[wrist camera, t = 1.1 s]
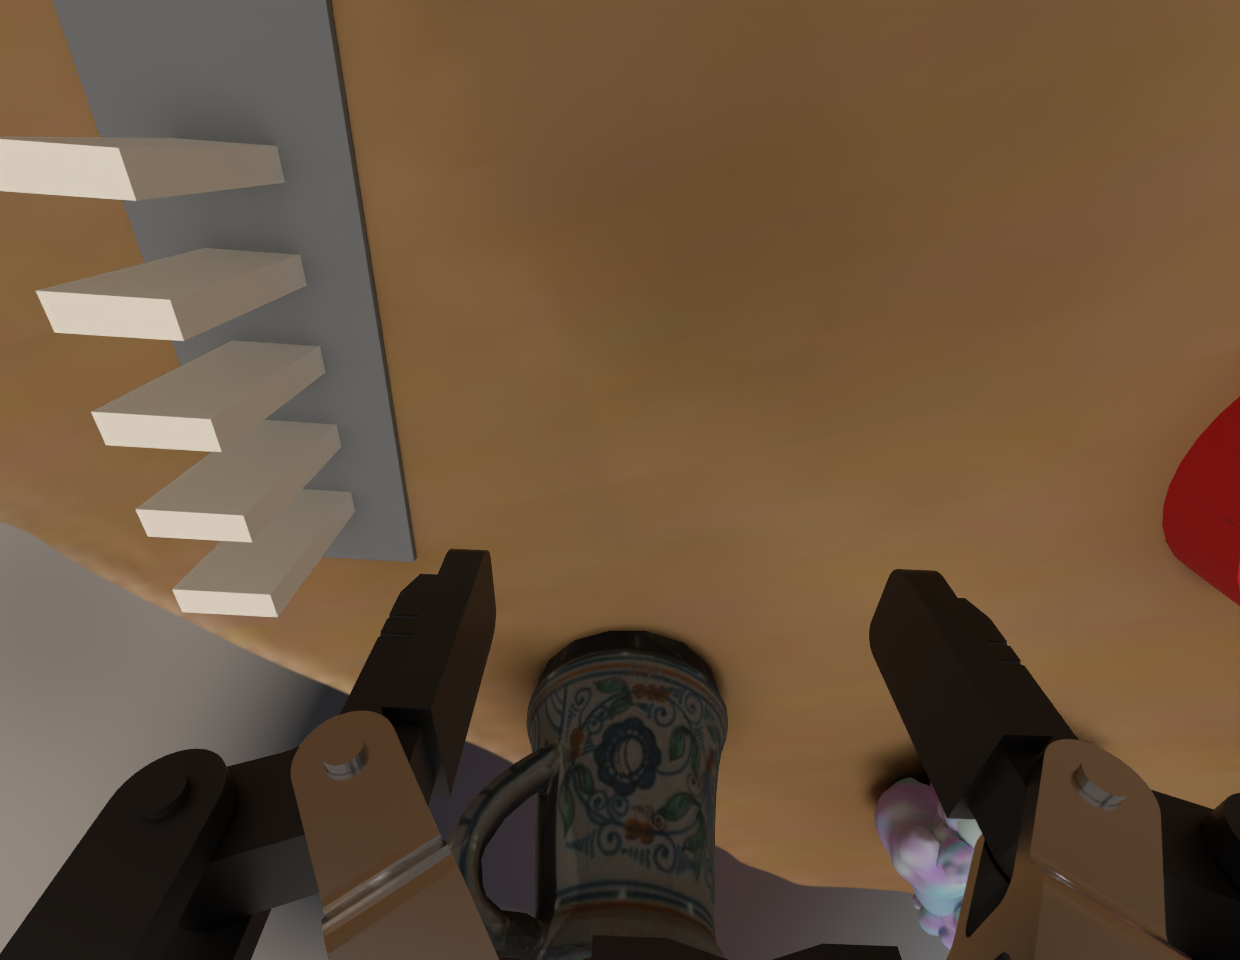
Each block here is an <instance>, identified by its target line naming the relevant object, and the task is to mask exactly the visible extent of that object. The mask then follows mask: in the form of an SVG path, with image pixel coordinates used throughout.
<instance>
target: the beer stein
mask: <svg viewBox="0 0 1240 960" xmlns="http://www.w3.org/2000/svg"><path fill="white" fill-rule="evenodd" d="M727 730H728V716H727V710H726V706H725V703H724V701H723V699H722V697H721V696H720V694H719V692H718V689H717V686H716V683H715V680H714V678H713V675H712V672H711V669H710V667H709V666H708V665H707V664H706V663H705V662H704V661H703V660H702V659H701V658H700V657H698V656H697V655H696V654H695V653H694V652H693V651H692V650H691V649H690V648H689V647H687V646H686V645H685V644H684V643H681V642H678V641H675V640H672V639H669V638H665V637H662V636H659V635H656V634H652V633H649V632H646V631H608V632H604V633H601V634H597V635H593V636H590V637H586V638H582V639H579V640H575V641H574V642H572V643H571V644H570V645H569V646H567V647H566V648H565V649H563V650H562V651H561V652H560V653H558V654H557V655H556V656H555V657H553V658H552V659H551V660H549V661H548V663H547V665H546V667H545V669H544V671H543V673H542V675H541V677H540V679H539V682H538V685H537V687H536V689H535V691H534V693H533V694H532V697H531V700H530V703H529V706H528V713H527V731H528V737H529V740H530V744H531V747H532V753H531V754H530V755H528V756H526V757H525V758H523V759H521V760H520V761H518V762H516V763H515V764H514V765H512V766H511V767H509V768H508V769H507V770H505V771H504V772H503V773H501V774H500V775H499V776H497V777H496V778H495V779H494V780H493V781H491V782H490V783H489V784H488V785H487V786H486V787H485V788H484V789H483V790H482V791H481V792H480V793H479V794H478V795H477V796H476V797H475V798H474V799H473V801H472V802H471V803H470V804H469V805H468V807H467V808H466V809H465V811H464V812H463V814H462V815H461V816H460V817H459V819H458V820H457V822H456V824H455V825H454V827H453V829H452V831H451V833H450V835H449V837H448V839H447V842H446V843H447V844H448V846H449V848H450V850H451V852H452V854H453V856H454V858H455V860H456V862H457V865H458V867H459V869H460V871H461V874H462V876H463V878H464V880H465V883H466V885H467V887H468V890H469V892H470V894H471V896H472V899H473V901H474V903H475V906H476V908H477V910H478V912H479V915H480V917H481V919H482V922H483V924H484V926H485V928H486V931H487V933H488V935H489V937H490V940H491V942H492V944H493V947H494V949H495V951H496V953H497V956H498V958H499V960H582V959H585V958H588V957H591V956H592V936H593V935H602V936H629V937H656V938H669V939H672V940H675V941H678V942H680V943H683V944H686V945H689V946H691V947H694V948H697V949H700V950H703V951H705V952H708V953H711V954H714V955H716V956H719V957H722V958H725V956H724V954H723V953H722V951H721V950H720V948H719V947H718V945H717V943H716V937H715V927H714V868H715V865H714V864H715V858H714V857H715V855H714V854H715V812H716V791H717V780H718V770H719V763H720V757H721V753H722V750H723V747H724V744H725V741H726V737H727ZM535 793H536V813H535V816H536V817H535V872H534V873H535V874H534V875H535V877H534V878H535V879H534V885H535V886H534V892H535V893H534V918H533V917H532V916H530V915H528V914H525V913H519V912H511V911H503V910H501V909H500V908H499V907H498V906H497V905H496V904H494V903H493V902H492V901H491V900H490V899H489V898H488V897H487V896H486V894H485V890H484V887H483V881H482V864H481V858H482V855H483V852H484V849H485V847H486V846H487V844H488V843H489V841H490V840H491V838H492V837H493V835H494V834H495V832H496V831H497V829H498V828H499V827H500V825H501V824H502V822H503V821H504V819H505V818H506V817H507V816H509V815H510V814H511V813H512V812H513V811H514V810H515V809H516V808H518V807H519V806H520V805H521V804H522V803H523V802H525V801H526V800H527V799H528V798H529V797H530V796H532V795H534V794H535Z"/></svg>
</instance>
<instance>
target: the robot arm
mask: <svg viewBox="0 0 1240 960" xmlns="http://www.w3.org/2000/svg"><path fill="white" fill-rule="evenodd" d="M495 620H496V604H495V594H494V585H493V575H492V566H491V557H490V553H489V551H487V550H466V549H450V550H449V551H448V552H447V554H446V556H445V559H444V561H443V563H442V566H441V568H440V570H439V573H438V575H433V574H420V575H419V576H418V577H416V578H415V579H414V580H413V581H412V582H411V583H410V584H409V585H408V586H407V587H406V588H405V589H403V590H402V591H401V592H400V594H399V596H398V598H397V600H396V602H395V604H394V606H393V608H392V610H391V612H390V617H389V619H387V620H386V622H385V624H384V626H383V628H382V630H381V635H380V637H378V639H377V641H376V643H375V645H374V647H373V649H372V651H371V653H370V655H369V657H368V659H367V661H366V663H365V665H364V667H363V669H362V671H361V673H360V675H359V677H358V679H357V681H356V683H355V685H354V687H353V689H352V691H351V693H350V695H349V697H348V699H347V702H346V703H345V706H344V707H343V709H342V711H341V713H340V714H339V715H338V716H336V717H333V718H332V719H330V720H328V721H326V722H324V723H323V724H321V725H320V726H319V727H317V728H316V729H315V730H314V731H313V732H311V733H310V734H309V735H308V736H307V738H306V739H305V740H304V741H303V742H302V744H301V745H300V746H299V747H296V748H294V749H292V750H289V751H286V752H283V753H279V754H276V755H271V756H267V757H263V758H259V759H256V760H252V761H248V762H244V763H240V764H236V765H232V766H228V767H227V766H226V765H225V763H224V761H223V760H222V758H221V757H220V756H219V755H218V754H216V753H214V752H212V751H209V750H205V749H188V750H183V751H178V752H175V753H172V754H169V755H166V756H164V757H162V758H160V759H158V760H156V761H154V762H152V763H150V764H149V765H147V766H145V767H144V768H143V769H141V770H140V771H138V772H137V773H135V774H134V775H133V776H132V777H131V778H129V779H128V780H127V781H126V782H125V783H124V784H123V785H122V786H121V787H120V788H119V789H118V790H117V791H116V792H115V794H114V795H113V796H112V797H111V799H110V800H109V801H108V803H107V804H106V806H105V807H104V809H103V810H102V811H101V813H100V814H99V815H98V817H97V819H96V820H95V821H94V823H93V824H92V825H91V827H90V828H89V829H88V831H87V832H86V834H85V835H84V837H83V838H82V839H81V841H80V842H79V844H78V845H77V846H76V848H75V849H74V851H73V852H72V854H71V855H70V856H69V858H68V859H67V860H66V862H65V863H64V865H63V866H62V868H61V869H60V871H59V872H58V873H57V875H56V876H55V877H54V879H53V880H52V882H51V883H50V884H49V886H48V887H47V889H46V890H45V892H44V893H43V894H42V896H41V897H40V898H39V900H38V901H37V903H36V904H35V906H34V907H33V908H32V910H31V911H30V913H29V914H28V915H27V917H26V918H25V920H24V921H23V922H22V924H21V926H20V927H19V928H18V930H17V931H16V932H15V934H14V935H13V936H12V938H11V939H10V941H9V942H8V944H7V945H6V946H5V948H4V949H3V951H2V952H1V954H0V960H251V958H252V955H253V953H254V950H255V948H256V945H257V943H258V940H259V937H260V935H261V933H262V931H263V928H264V926H265V923H266V920H267V918H268V916H269V913H270V911H271V908H274V907H277V906H280V905H283V904H287V903H290V902H293V901H296V900H299V899H302V898H305V897H308V896H311V895H314V894H317V893H320V897H321V901H322V905H323V911H324V919H323V920H322V930H323V936H324V941H325V946H326V951H327V955H328V959H329V960H499V958H498V956H497V953H496V951H495V949H494V947H493V944H492V942H491V940H490V937H489V935H488V933H487V931H486V928H485V926H484V924H483V922H482V919H481V917H480V915H479V912H478V910H477V908H476V906H475V903H474V901H473V899H472V896H471V894H470V892H469V890H468V887H467V885H466V883H465V880H464V878H463V876H462V874H461V871H460V869H459V867H458V865H457V862H456V860H455V858H454V856H453V854H452V852H451V850H450V848H449V846H448V844H447V843H446V841H443V839H442V837H441V835H440V833H439V831H438V829H437V827H436V824H435V822H434V820H433V817H432V815H431V813H430V810H429V808H428V804H429V801H430V798H431V796H448V797H450V795H451V791H452V787H453V784H454V780H455V776H456V773H457V769H458V765H459V762H460V758H461V754H462V751H463V746H464V743H465V739H466V736H467V732H468V728H469V725H470V721H471V717H472V713H473V710H474V706H475V702H476V699H477V695H478V691H479V687H480V684H481V680H482V676H483V673H484V669H485V665H486V661H487V658H488V654H489V650H490V647H491V643H492V639H493V635H494V629H495ZM869 641H870V647H871V651H872V654H873V656H874V659H875V661H876V663H877V665H878V667H879V670H880V672H881V674H882V676H883V678H884V681H885V683H886V685H887V687H888V689H889V692H890V694H891V696H892V698H893V700H894V703H895V705H896V707H897V709H898V711H899V713H900V716H901V718H902V720H903V722H904V724H905V727H906V729H907V731H908V733H909V735H910V738H911V740H912V742H913V744H914V746H915V749H916V751H917V753H918V755H919V757H920V760H921V762H922V764H923V766H924V768H925V770H926V773H927V775H928V777H929V779H930V781H931V784H932V786H933V788H934V790H935V792H936V795H937V797H938V799H939V801H940V803H941V806H942V808H943V810H944V812H945V814H946V817H947V818H949V819H975V820H976V822H977V824H978V826H979V828H980V830H981V832H982V834H981V835H980V837H979V838H978V840H977V842H976V844H975V848H974V852H973V857H972V861H971V866H970V870H969V874H968V879H967V883H966V888H965V892H964V897H963V901H962V905H961V910H960V914H959V919H958V923H957V927H956V932H955V936H954V940H953V944H952V947H951V950H950V953H949V955H948V957H947V960H1240V793H1237V794H1233V795H1231V796H1229V797H1228V798H1227V799H1226V800H1224V801H1223V802H1222V803H1221V804H1220V805H1219V806H1218V807H1216V808H1215V809H1210V808H1207V807H1204V806H1201V805H1198V804H1195V803H1191V802H1188V801H1185V800H1182V799H1179V798H1176V797H1172V796H1169V795H1166V794H1163V793H1160V792H1157V791H1153V790H1151V789H1150V788H1149V787H1148V785H1147V784H1146V783H1145V782H1144V780H1143V779H1142V778H1141V777H1140V776H1139V775H1138V774H1137V773H1136V772H1135V771H1134V770H1133V769H1131V768H1130V767H1129V766H1128V765H1127V764H1125V763H1124V762H1123V761H1121V760H1120V759H1118V758H1117V757H1115V756H1114V755H1112V754H1111V753H1109V752H1107V751H1105V750H1103V749H1102V748H1099V747H1097V746H1095V745H1092V744H1089V743H1086V742H1083V741H1079V740H1078V739H1077V737H1076V736H1075V735H1074V733H1073V732H1072V730H1071V729H1070V728H1069V726H1068V725H1067V724H1066V722H1065V721H1064V719H1063V718H1062V717H1061V715H1060V714H1059V713H1058V711H1057V710H1056V708H1055V707H1054V706H1053V704H1052V703H1051V702H1050V700H1049V699H1048V697H1047V696H1046V695H1045V693H1044V692H1043V691H1042V689H1041V688H1040V686H1039V685H1038V684H1037V682H1036V681H1035V680H1034V678H1033V677H1032V675H1031V674H1030V673H1029V671H1028V670H1027V669H1026V667H1025V666H1024V665H1021V664H1020V661H1021V660H1020V659H1019V658H1018V656H1017V655H1016V653H1015V652H1014V651H1013V649H1012V648H1011V647H1010V646H1007V644H1006V642H1007V641H1006V640H1005V638H1004V637H1003V636H1002V634H1001V633H1000V631H999V630H998V629H997V627H996V626H995V625H994V623H993V622H992V620H991V619H990V618H989V617H988V616H986V615H985V614H984V613H983V612H981V611H980V610H979V609H978V608H976V607H975V606H974V605H973V604H972V603H970V602H969V601H968V600H967V599H965V598H957V596H956V595H955V593H954V592H953V591H952V589H951V588H950V586H949V585H948V583H947V582H946V580H945V579H944V577H943V576H942V575H941V574H940V573H939V572H937V571H929V570H905V569H896V570H894V571H893V572H892V573H891V574H890V576H889V578H888V581H887V583H886V586H885V588H884V591H883V593H882V596H881V598H880V601H879V603H878V606H877V608H876V611H875V614H874V616H873V619H872V621H871V624H870V630H869ZM582 960H728V959H725V958H722V957H719V956H716V955H714V954H711V953H708V952H705V951H703V950H700V949H697V948H694V947H691V946H689V945H686V944H683V943H680V942H678V941H675V940H672V939H669V938H656V937H629V936H602V935H593V936H592V956H591V957H588V958H585V959H582ZM773 960H902V959H901V956H900V953H899V950H898V947H897V946H871V945H870V946H868V945H844V944H821V945H817V946H814V947H811V948H808V949H805V950H802V951H798V952H795V953H792V954H789V955H786V956H783V957H780V958H776V959H773Z"/></svg>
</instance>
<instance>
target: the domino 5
mask: <svg viewBox="0 0 1240 960" xmlns="http://www.w3.org/2000/svg"><path fill="white" fill-rule="evenodd" d="M354 513H355V508H354V503H353V499H352V494H351V492H345V491H329V490H312V489H302V490H301V491H300V492H299V493H298V494H297V495H296V496H295V497H294V498H293V500H292V501H291V502H290V503H289V504H288V505H287V506H286V507H285V508H284V509H283V510H282V511H281V512H280V513H279V515H278V516H277V517H276V518H275V519H274V520H273V521H272V522H271V523H270V524H269V525H268V526H267V527H266V528H265V530H264V531H263V532H262V533H261V534H260V535H259V536H258V537H257V538H256V539H255V540H254V541H253V542H235V541H221V542H220V543H218V544H217V545H216V546H215V547H214V548H213V549H212V550H211V551H210V552H209V553H208V554H207V555H206V556H205V557H204V558H203V559H202V560H201V561H200V562H199V563H198V564H197V565H196V566H195V567H194V568H193V569H192V570H191V571H190V572H189V573H188V574H187V575H186V576H185V577H184V578H183V579H182V580H181V581H180V582H179V583H178V584H177V585H176V586H175V587H174V588H173V589H172V590H173V593H174V595H175V597H176V599H177V601H178V604H179V606H180V608H181V610H182V612H190V613H208V614H227V615H245V616H264V617H278V616H279V615H280V614H281V612H282V611H283V610H284V608H285V607H286V605H287V604H288V603H289V601H290V600H291V599H292V597H293V596H294V595H295V593H296V592H297V590H298V589H299V588H300V586H301V585H302V584H303V582H304V581H305V579H306V578H307V577H308V575H309V574H310V573H311V571H312V570H313V569H314V567H315V566H316V564H317V563H318V562H319V560H320V559H321V558H322V556H323V555H324V554H325V552H326V551H327V549H328V548H329V547H330V545H331V544H332V543H333V541H334V540H335V538H336V537H337V536H338V534H339V533H340V532H341V530H342V529H343V528H344V526H345V525H346V523H347V522H348V521H349V519H350V518H351V517H352V515H353V514H354Z"/></svg>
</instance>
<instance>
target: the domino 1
mask: <svg viewBox="0 0 1240 960" xmlns="http://www.w3.org/2000/svg"><path fill="white" fill-rule="evenodd" d="M279 183H285V181H284V176H283V172H282V167H281V162H280V158H279V153H278V148H277V146H273V145H259V144H246V143H233V142H220V141H206V140H193V139H180V138H115V137H0V191H8V192H22V193H36V194H50V195H63V196H77V197H91V198H105V199H119V200H132V201H139V200H147V199H155V198H164V197H172V196H180V195H188V194H197V193H205V192H213V191H221V190H230V189H238V188H246V187H254V186H263V185H271V184H279Z"/></svg>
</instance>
